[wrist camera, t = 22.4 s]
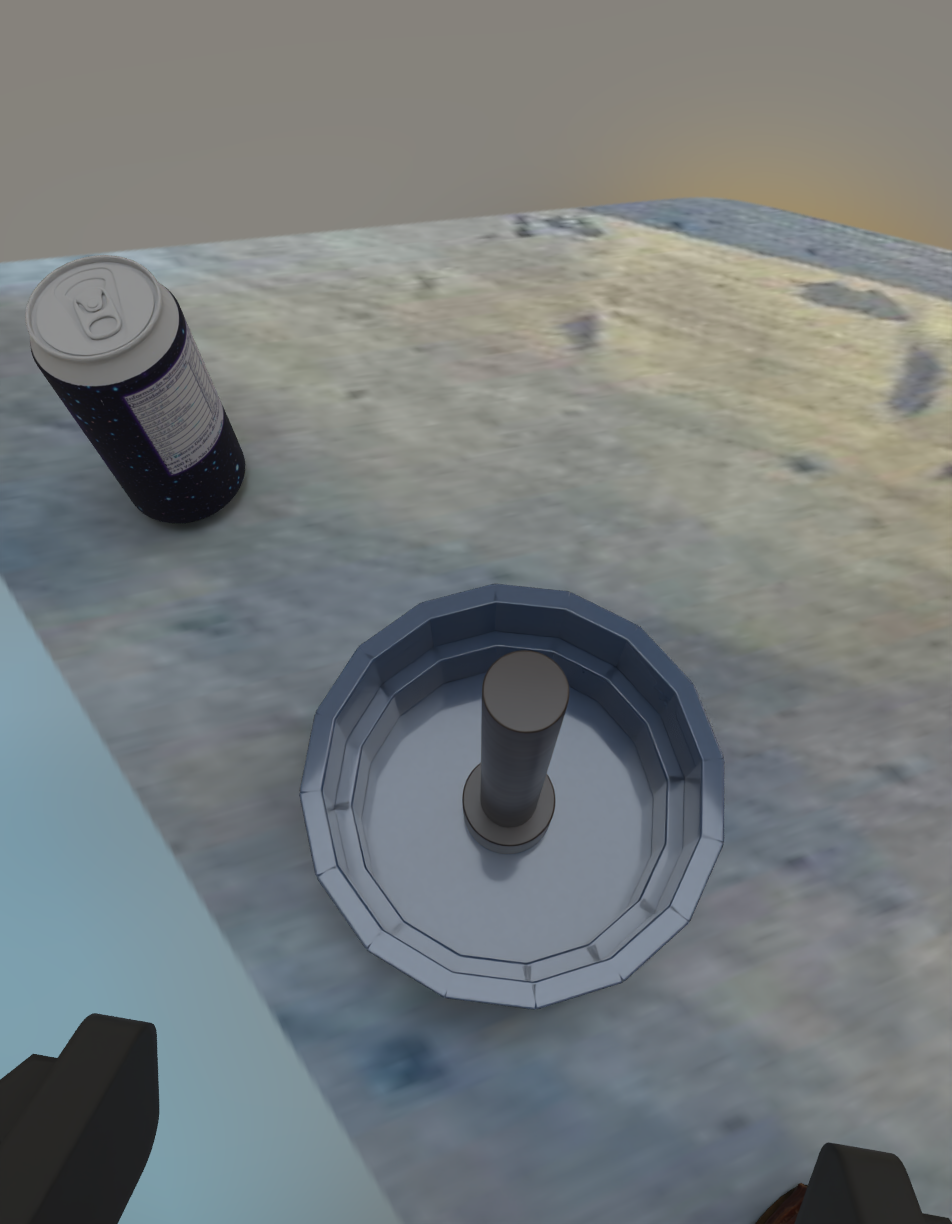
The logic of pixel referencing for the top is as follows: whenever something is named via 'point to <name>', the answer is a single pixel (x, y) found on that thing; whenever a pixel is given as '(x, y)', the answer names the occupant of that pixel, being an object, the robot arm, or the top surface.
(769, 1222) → the pastry
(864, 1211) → the robot arm
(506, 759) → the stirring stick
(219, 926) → the top surface
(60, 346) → the beverage can
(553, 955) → the bowl
